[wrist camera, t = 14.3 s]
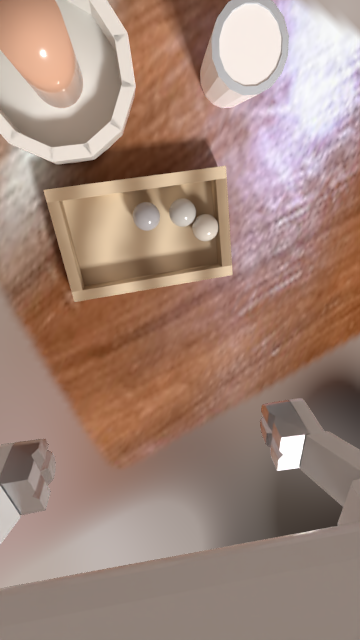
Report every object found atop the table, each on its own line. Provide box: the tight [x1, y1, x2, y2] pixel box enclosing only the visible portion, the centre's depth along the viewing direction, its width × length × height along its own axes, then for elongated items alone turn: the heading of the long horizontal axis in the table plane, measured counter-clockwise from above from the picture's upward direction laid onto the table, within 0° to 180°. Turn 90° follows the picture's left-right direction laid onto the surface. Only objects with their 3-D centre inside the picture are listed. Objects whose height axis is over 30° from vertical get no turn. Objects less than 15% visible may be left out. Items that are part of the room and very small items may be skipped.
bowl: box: [0, 0, 136, 165], centre depth 28 cm, size 14×14×3 cm
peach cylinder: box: [0, 0, 83, 108], centre depth 25 cm, size 5×5×10 cm
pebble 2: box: [169, 198, 196, 227], centre depth 34 cm, size 3×3×3 cm
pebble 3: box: [192, 214, 218, 241], centre depth 35 cm, size 3×3×3 cm
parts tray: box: [43, 166, 232, 302], centre depth 35 cm, size 19×12×3 cm, turn 96°
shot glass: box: [200, 0, 289, 108], centre depth 29 cm, size 7×7×7 cm
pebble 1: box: [133, 202, 160, 231], centre depth 34 cm, size 3×3×3 cm
